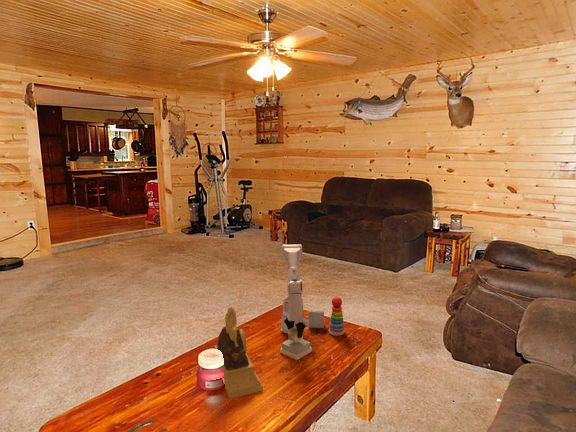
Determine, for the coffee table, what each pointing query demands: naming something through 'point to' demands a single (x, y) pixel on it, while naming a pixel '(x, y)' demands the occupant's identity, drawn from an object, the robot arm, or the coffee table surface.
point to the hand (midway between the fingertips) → (295, 335)
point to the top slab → (296, 346)
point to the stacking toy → (336, 318)
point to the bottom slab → (294, 354)
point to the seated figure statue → (236, 359)
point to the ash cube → (293, 335)
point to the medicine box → (316, 318)
